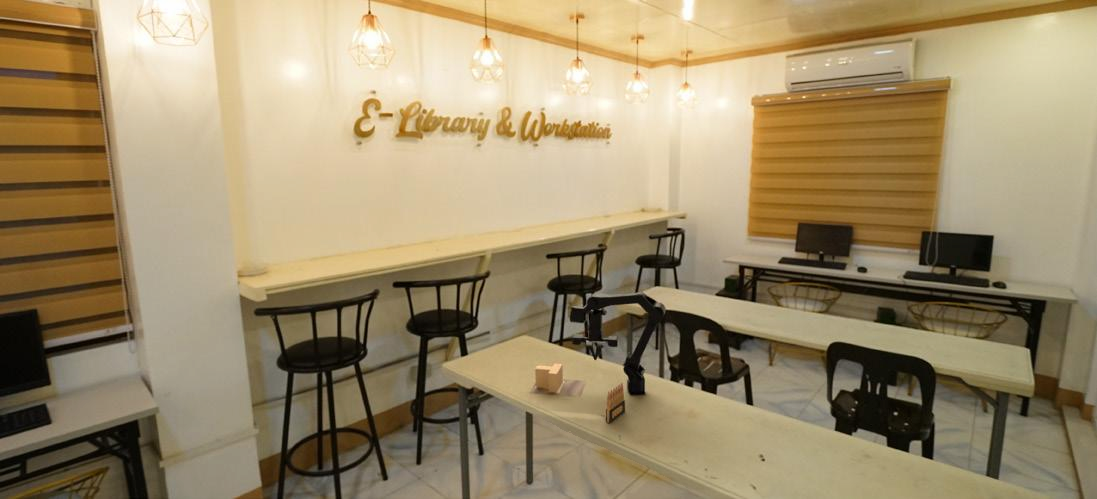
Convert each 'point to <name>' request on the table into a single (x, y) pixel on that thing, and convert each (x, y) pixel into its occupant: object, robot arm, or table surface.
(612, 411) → the ammunition clip
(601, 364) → the table surface
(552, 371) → the t block
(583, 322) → the robot arm
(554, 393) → the board
